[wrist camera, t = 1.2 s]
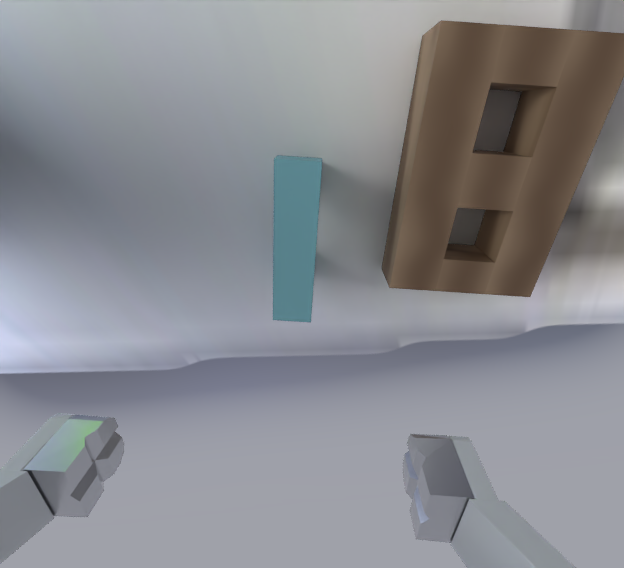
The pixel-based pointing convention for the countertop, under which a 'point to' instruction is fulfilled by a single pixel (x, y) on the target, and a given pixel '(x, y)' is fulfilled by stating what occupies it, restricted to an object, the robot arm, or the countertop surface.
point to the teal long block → (295, 235)
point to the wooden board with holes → (496, 152)
